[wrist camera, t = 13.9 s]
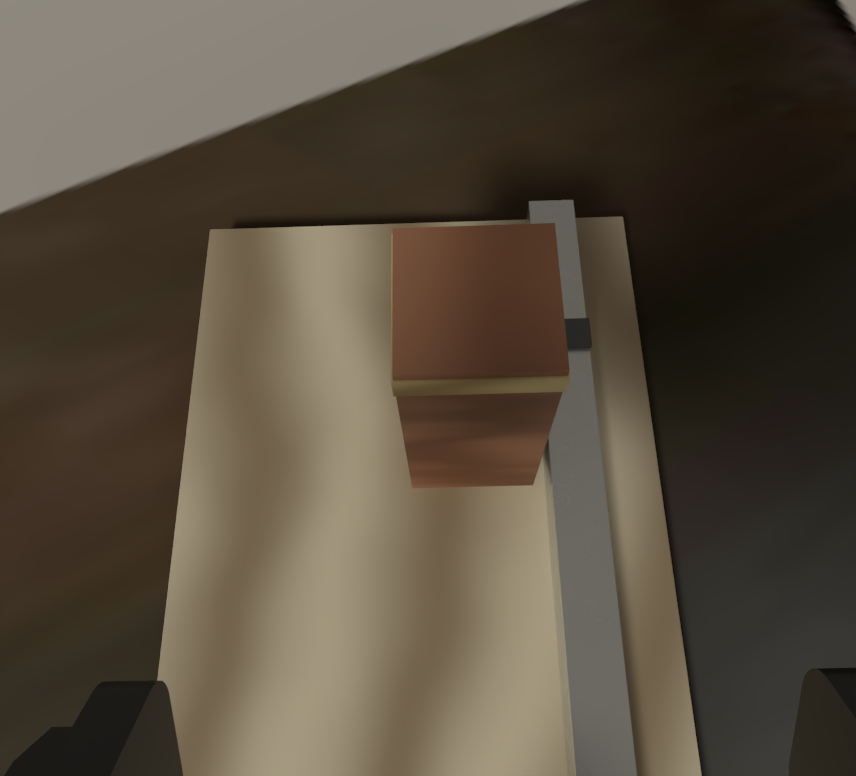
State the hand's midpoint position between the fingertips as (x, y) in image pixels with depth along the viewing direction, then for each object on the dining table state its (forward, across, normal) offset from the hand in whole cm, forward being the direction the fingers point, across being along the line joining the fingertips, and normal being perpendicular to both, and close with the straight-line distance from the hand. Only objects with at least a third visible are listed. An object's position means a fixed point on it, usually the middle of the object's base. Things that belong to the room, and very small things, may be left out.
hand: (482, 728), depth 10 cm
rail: (+14, -4, +6) cm, 15 cm away
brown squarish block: (+17, -1, +3) cm, 17 cm away
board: (+15, +1, +7) cm, 16 cm away
